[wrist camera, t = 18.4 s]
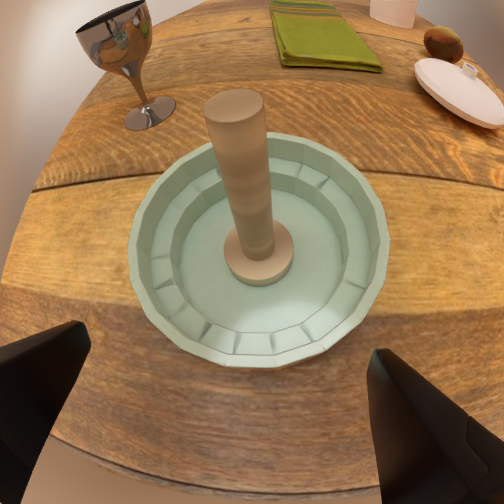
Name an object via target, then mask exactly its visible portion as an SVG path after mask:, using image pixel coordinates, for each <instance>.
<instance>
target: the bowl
mask: <svg viewBox="0 0 504 504" xmlns="http://www.w3.org/2000/svg"><path fill="white" fill-rule="evenodd" d="M267 144H268V157H269V170H270V184H271V198H272V213H273V219H274V220H276V221H278V222H279V223H281V224H282V225H283V226H285V227H286V229H287V230H288V231H289V233H290V234H291V236H292V239H293V244H294V251H293V261H292V265H291V267H290V269H289V271H288V273H287V274H286V275H285V276H284V277H283V278H282V279H281V280H279V281H278V282H276V283H274V284H272V285H269V286H263V287H255V286H250V285H247V284H244V283H242V282H240V281H239V280H238V279H237V278H236V277H235V276H234V275H233V274H232V273H231V271H230V269H229V267H228V264H227V262H226V260H225V256H224V243H225V240H226V237H227V235H228V234H229V232H230V231H231V230H232V228H233V227H235V223H234V219H233V216H232V212H231V209H230V205H229V202H228V198H227V195H226V191H225V188H224V184H223V181H222V177H221V174H220V170H219V167H218V163H217V160H216V156H215V153H214V149H213V146H212V142H209V143H206V144H205V145H203V146H201V147H199V148H197V149H196V150H194V151H192V152H190V153H188V154H187V155H185V156H183V157H182V158H180V159H178V160H177V161H176V162H175V163H174V164H173V165H171V166H170V167H169V168H168V169H167V170H166V171H165V172H164V173H163V174H162V175H161V176H160V177H159V178H158V179H157V180H156V181H155V182H154V183H153V184H152V186H151V187H150V189H149V191H148V192H147V194H146V196H145V197H144V199H143V201H142V202H141V204H140V206H139V207H138V209H137V211H136V213H135V217H134V221H133V225H132V229H131V233H130V237H129V241H128V260H129V271H130V280H131V285H132V287H133V289H134V291H135V293H136V296H137V298H138V300H139V302H140V304H141V306H142V308H143V310H144V312H145V314H146V316H147V318H148V319H149V320H150V321H151V322H152V323H153V324H154V325H155V326H156V327H157V328H158V329H159V330H160V331H161V332H162V333H163V334H164V335H165V336H167V337H168V338H169V339H170V340H171V341H172V342H173V343H174V344H175V345H176V346H177V347H179V348H180V349H182V350H184V351H186V352H189V353H191V354H193V355H196V356H198V357H201V358H203V359H206V360H208V361H211V362H213V363H216V364H218V365H221V366H224V367H228V368H233V369H237V370H280V369H283V368H286V367H289V366H292V365H295V364H298V363H301V362H304V361H307V360H310V359H313V358H315V357H317V356H319V355H320V354H322V353H324V352H325V351H327V350H328V349H329V348H331V347H332V346H333V345H334V344H336V343H337V342H338V341H339V340H341V339H342V338H343V337H344V336H345V335H347V334H348V333H349V332H350V331H352V330H353V329H354V328H355V327H356V326H357V325H359V324H360V323H361V322H362V320H364V318H365V317H366V315H367V313H368V312H369V310H370V308H371V306H372V305H373V303H374V301H375V299H376V298H377V296H378V294H379V292H380V290H381V289H382V287H383V285H384V282H385V279H386V273H387V267H388V260H389V253H390V245H391V243H390V242H391V240H390V235H389V231H388V226H387V221H386V217H385V213H384V208H383V205H382V203H381V202H380V200H379V198H378V197H377V195H376V193H375V192H374V190H373V188H372V187H371V185H370V184H369V182H368V180H367V179H366V177H365V176H364V175H363V174H362V173H361V172H360V171H359V170H357V169H356V168H355V167H354V166H353V165H352V164H351V163H349V162H348V161H347V160H346V159H345V158H344V157H342V156H341V155H340V154H338V153H337V152H335V151H333V150H331V149H329V148H327V147H325V146H323V145H321V144H318V143H316V142H314V141H312V140H310V139H307V138H302V137H298V136H292V135H287V134H282V133H276V132H267Z"/></svg>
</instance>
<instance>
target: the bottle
mask: <svg viewBox="0 0 504 504" xmlns="http://www.w3.org/2000/svg"><path fill="white" fill-rule="evenodd" d="M417 3H418V0H371V4H370V17H372V18H373V19H375V20H377V21H380V22H382V23H385V24H388V25H391V26H394V27H398V28H403V29H412V28H413V23H414V19H415V13H416V8H417Z"/></svg>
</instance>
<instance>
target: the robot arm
mask: <svg viewBox="0 0 504 504" xmlns="http://www.w3.org/2000/svg"><path fill="white" fill-rule="evenodd" d="M90 349H91V340H90V338H89V335H88V332H87V329H86V326H85V324H84V323H83V322H80V321H76V320H72V321H70V322H67V323H64V324H62V325H59V326H56V327H53V328H51V329H48V330H45V331H43V332H40V333H37V334H35V335H32V336H29V337H27V338H24V339H21V340H19V341H16V342H13V343H10V344H8V345H5V346H2V347H0V502H1V503H2V504H21V501H22V498H23V495H24V492H25V490H26V487H27V485H28V482H29V479H30V477H31V474H32V471H33V469H34V467H35V464H36V462H37V459H38V457H39V455H40V453H41V451H42V448H43V446H44V444H45V442H46V439H47V437H48V435H49V433H50V431H51V429H52V427H53V425H54V423H55V421H56V419H57V417H58V415H59V413H60V411H61V409H62V407H63V405H64V403H65V401H66V399H67V397H68V396H69V394H70V392H71V390H72V388H73V386H74V384H75V382H76V380H77V378H78V376H79V373H80V371H81V369H82V366H83V364H84V362H85V360H86V357H87V355H88V353H89V351H90ZM367 387H368V400H369V414H370V424H371V431H372V436H373V442H374V448H375V454H376V461H377V468H378V475H379V482H380V490H381V497H382V498H381V499H382V504H504V441H502V440H501V439H499V438H498V437H497V436H495V435H494V434H492V433H491V432H490V431H488V430H487V429H486V428H485V427H483V426H482V425H481V424H480V423H478V422H477V421H476V420H475V419H474V418H472V417H471V416H469V415H468V414H467V413H466V412H465V411H464V410H463V409H461V408H460V407H459V406H458V405H457V404H455V403H454V402H453V401H452V400H451V399H449V398H448V397H447V396H446V395H445V394H443V393H442V392H441V391H440V390H439V389H437V388H436V387H435V386H434V385H432V384H431V383H430V382H429V381H428V380H426V379H425V378H424V377H423V376H422V375H420V374H419V373H418V372H417V371H415V370H414V369H413V368H412V367H411V366H409V365H408V364H407V363H406V362H404V361H403V360H402V359H401V358H400V357H398V356H397V355H396V354H395V353H393V352H392V351H391V350H390V349H388V348H382V349H375V350H374V351H373V353H372V356H371V360H370V363H369V366H368V370H367ZM468 416H469V417H468Z"/></svg>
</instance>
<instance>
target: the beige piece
mask: <svg viewBox="0 0 504 504" xmlns="http://www.w3.org/2000/svg"><path fill="white" fill-rule="evenodd" d="M203 114H204V117H205V121H206V124H207V128H208V131H209V135H210V139H211V142H212V146H213V149H214V153H215V156H216V160H217V163H218V167H219V170H220V174H221V177H222V181H223V184H224V188H225V191H226V195H227V198H228V202H229V205H230V209H231V212H232V216H233V219H234V223H235V227H233V228H232V230H231V231H230V232H229V234H228V235H227V237H226V240H225V243H224V256H225V260H226V262H227V264H228V267H229V269H230V271H231V273H232V274H233V275H234V276H235V277H236V278H237V279H238V280H239V281H240V282H242V283H244V284H247V285H250V286H255V287H263V286H269V285H272V284H274V283H276V282H278V281H279V280H281V279H282V278H283V277H284V276H285V275H286V274H287V273H288V271H289V269H290V267H291V265H292V261H293V251H294V244H293V239H292V236H291V234H290V233H289V231H288V230H287V229H286V227H285V226H283V225H282V224H281V223H279V222H278V221H276V220H274V219H273V213H272V198H271V184H270V170H269V157H268V144H267V132H266V120H265V109H264V100H263V98H262V96H261V95H260V94H258V93H257V92H255V91H252V90H249V89H230V90H225V91H222V92H220V93H217V94H215V95H214V96H212V97H211V98H209V99H208V100H207V101H206V103H205V104H204V107H203Z"/></svg>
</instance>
